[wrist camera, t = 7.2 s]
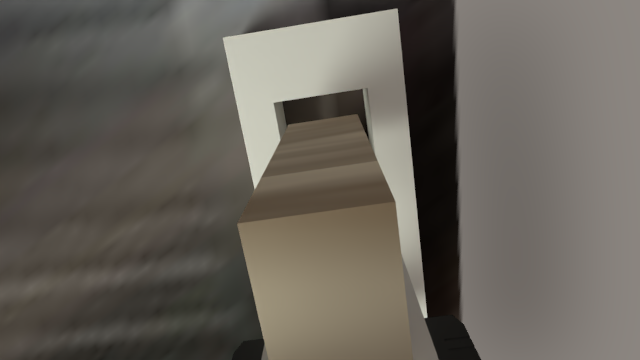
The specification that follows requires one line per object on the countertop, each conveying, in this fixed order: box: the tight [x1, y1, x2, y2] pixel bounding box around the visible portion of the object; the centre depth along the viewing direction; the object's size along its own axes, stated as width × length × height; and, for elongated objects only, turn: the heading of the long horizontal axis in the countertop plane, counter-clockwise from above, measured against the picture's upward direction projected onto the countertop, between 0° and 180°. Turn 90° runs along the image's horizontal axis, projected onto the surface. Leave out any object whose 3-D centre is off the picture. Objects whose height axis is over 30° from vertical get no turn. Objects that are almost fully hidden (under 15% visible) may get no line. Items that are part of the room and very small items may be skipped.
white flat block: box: [223, 8, 427, 318], centre depth 24 cm, size 20×8×4 cm, turn 9°
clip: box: [237, 114, 413, 360], centre depth 15 cm, size 12×3×11 cm, turn 9°
